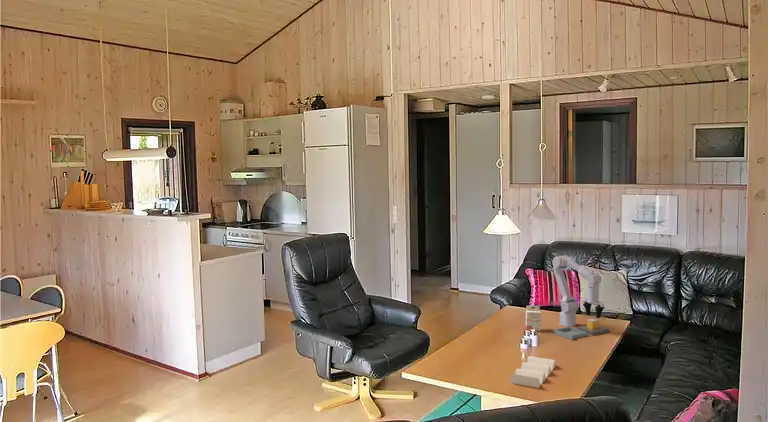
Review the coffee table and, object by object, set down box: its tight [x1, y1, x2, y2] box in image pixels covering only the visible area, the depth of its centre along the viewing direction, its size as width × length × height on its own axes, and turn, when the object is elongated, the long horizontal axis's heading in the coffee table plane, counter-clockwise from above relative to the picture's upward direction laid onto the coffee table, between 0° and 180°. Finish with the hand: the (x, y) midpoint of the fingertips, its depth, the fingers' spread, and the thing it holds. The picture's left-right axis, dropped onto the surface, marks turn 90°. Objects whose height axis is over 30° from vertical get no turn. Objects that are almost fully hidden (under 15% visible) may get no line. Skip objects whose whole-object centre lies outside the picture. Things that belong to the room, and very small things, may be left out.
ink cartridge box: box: [525, 305, 542, 332], centre depth 367 cm, size 9×5×15 cm, turn 84°
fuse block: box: [576, 324, 610, 336], centre depth 361 cm, size 12×14×3 cm
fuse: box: [586, 318, 600, 330], centre depth 360 cm, size 4×6×7 cm
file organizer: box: [510, 355, 557, 388], centre depth 293 cm, size 13×35×5 cm, turn 151°
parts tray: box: [554, 326, 588, 341], centre depth 355 cm, size 14×12×3 cm
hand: (593, 316), depth 360 cm, fingers open, 7 cm apart
